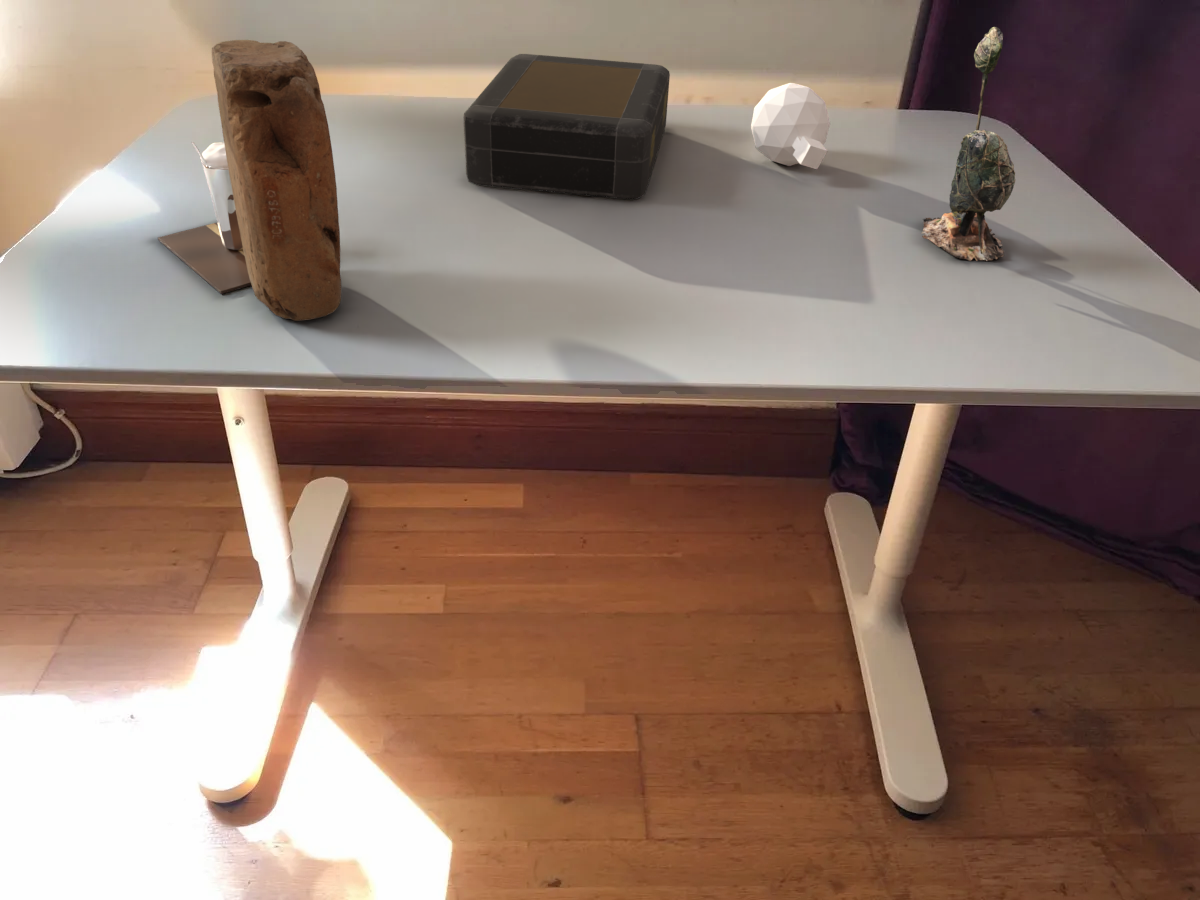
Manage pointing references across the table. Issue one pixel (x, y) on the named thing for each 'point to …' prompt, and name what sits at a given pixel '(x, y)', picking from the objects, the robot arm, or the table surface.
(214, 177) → the milkshake
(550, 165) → the cash box
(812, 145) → the perfume bottle
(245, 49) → the block
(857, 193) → the table surface
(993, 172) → the plant with pod
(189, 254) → the brown rectangular board
